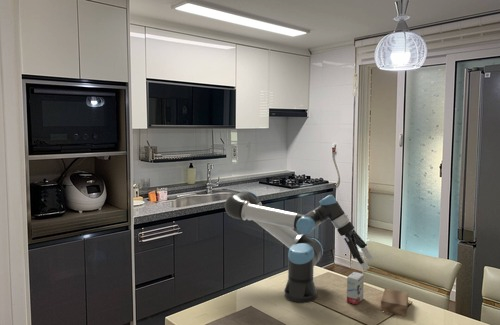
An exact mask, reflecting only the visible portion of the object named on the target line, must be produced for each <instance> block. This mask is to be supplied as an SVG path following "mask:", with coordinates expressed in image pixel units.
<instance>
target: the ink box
mask: <svg viewBox="0 0 500 325" xmlns="http://www.w3.org/2000/svg"><path fill="white" fill-rule="evenodd" d="M364 278H365V276H364V273H361V272H356V271H353V272H352V273H350V274H349V275H348V276H347V278H346V279H347V280H346V282H347V284H346V303H348V302H349V304H351V303H352V305H355V304H356V306H357V305H358V304H359V303H360V302H361V301H362V300H363V299H364V289H365V288H364V285H365V284H364V283H365V279H364Z"/></svg>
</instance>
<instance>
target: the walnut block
mask: <svg viewBox="0 0 500 325" xmlns="http://www.w3.org/2000/svg"><path fill="white" fill-rule="evenodd" d="M408 304H409V292H408V291H403V290H402V291H401V290H395V289H389V288H384V291H383V293H382V297H381V302H380V312H381V311H384V312H383V313H386V312H388V313H387V314H391V313H392V314H393V315H398V316H403V317H406V316H407V313H408Z"/></svg>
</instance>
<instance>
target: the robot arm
mask: <svg viewBox="0 0 500 325" xmlns="http://www.w3.org/2000/svg"><path fill="white" fill-rule="evenodd" d="M318 203H319V206H318V207H315V208H314V209H312V210H310V211H308V212H307V213H305V214H304V213H297V212H293V211H290V210H289V211H288V210H283V209H278V208H273V207H268V206H263V204H262V202H261V201H260V200H259V198H258V196H257V195H256V194H255V193H254V192H253V191H249V190H243V191H240V192H238V193H236V194H232V195H230V196H229V197H227V199H226V201H225V204H224V209H225V212H226V214H227V215H228V216H229V217H232V218H233V219H237V220H242V221H246V220H247V221H253V222H254V223H256V224H257V225H259V227H261V228H262V229H263V230H265V232H268V233H269V234H270V235H271V236H273V237H274V238H275V239H277V241H280V242H281V243H282V244H283V245H284V246H286V247H287V248H288V253H287V258H288V260H287V261H288V264H287V266H288V268H287V269H288V270H287V272H288V273H287V281H286V284H285V287H284V291H283V292H284V293H283V294H284V297H285V298H286V299H287V300H289V301H291V302H294V303H299V304H300V303H302V304H303V303H310V302H314V301H315V300H316V299H317V298H318V291H317V288H316V284H315V282H314V269H315V268H314V267H315V266H316V265H317V263H318V262H320V261H321V259H322V257H323V254H324V249H323V246H322V243H321V242H320V241H319V240H318V239H316V238H311V237H308V236H307V234H310V233H312V232H313V231H314V230H315V229H316V228H317V227H319V225H321V224H323V223H324V222H326V221H327V220H330V221H331V223H332V224H333V226H334V228H335V229H336V230H337V233H338V234H339V236H341V237H344V239H343V240H344V241H345V243H346V245H347V248H348V249H349V251H350V253H351V256H352V258H353V260H356V262H357V263H358V264H359V265H360V267H361V269H362V270H363V271H365V272H366V271H367V270H368V269H370V266H369V265H368V263H367V262H366V260H365V258H366V259H367V261H368V262H370V261H373V259H374V257H373V255H372V254H371V252H370V251H369V249H368V248H367V245H368V244H367V243H366V242H365V241H364V240H363V239H362V237H361V236H360V235H359V234H358V233H357V232H356V230H355V226H354V225H353V223H352V222H351V221H350V219H349V216H348V214H346V213H345V212H344V210H343V208H342V207H341V205H340V203H339V201H338V200H337V199H336V198H335V197H334V195H333V194H328V195H326V196H325V197H324V198H322V199H321V200H319V201H318ZM295 230H297V231H295ZM298 232H299V233H298ZM358 247H359V248H360V251H361V252H362V253H363V255H364V257H365V258H364V257H363V256H362V254H361V253H360V252H359V248H358Z"/></svg>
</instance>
